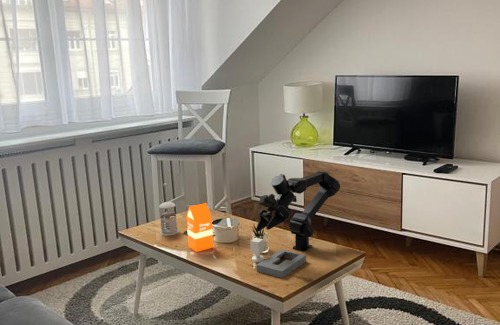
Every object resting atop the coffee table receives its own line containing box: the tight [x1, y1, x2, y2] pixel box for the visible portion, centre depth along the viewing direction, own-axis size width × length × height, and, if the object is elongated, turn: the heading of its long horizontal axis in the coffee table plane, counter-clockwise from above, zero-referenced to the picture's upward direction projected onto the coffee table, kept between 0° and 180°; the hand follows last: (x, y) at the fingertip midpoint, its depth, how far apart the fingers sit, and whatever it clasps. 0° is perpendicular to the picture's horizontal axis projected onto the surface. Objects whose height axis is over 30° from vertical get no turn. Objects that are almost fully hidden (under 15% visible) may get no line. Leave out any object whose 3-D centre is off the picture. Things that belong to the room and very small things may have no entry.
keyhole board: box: [256, 249, 307, 279], centre depth 207 cm, size 18×12×3 cm, turn 143°
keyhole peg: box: [249, 237, 265, 264], centre depth 213 cm, size 5×5×9 cm
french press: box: [158, 182, 180, 237], centre depth 251 cm, size 10×12×25 cm
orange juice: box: [186, 202, 214, 253], centre depth 230 cm, size 8×9×20 cm
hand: (261, 230), depth 205 cm, fingers open, 9 cm apart
